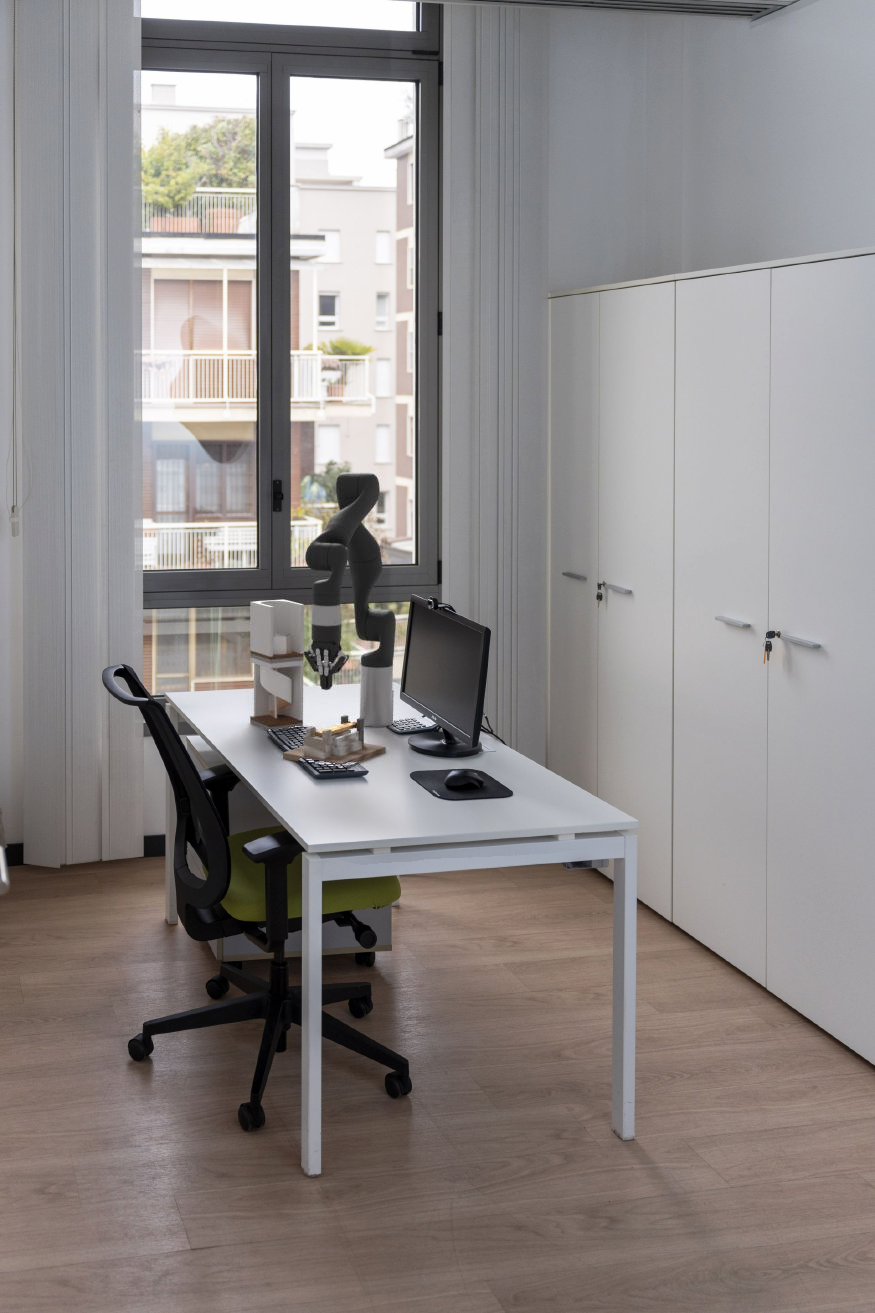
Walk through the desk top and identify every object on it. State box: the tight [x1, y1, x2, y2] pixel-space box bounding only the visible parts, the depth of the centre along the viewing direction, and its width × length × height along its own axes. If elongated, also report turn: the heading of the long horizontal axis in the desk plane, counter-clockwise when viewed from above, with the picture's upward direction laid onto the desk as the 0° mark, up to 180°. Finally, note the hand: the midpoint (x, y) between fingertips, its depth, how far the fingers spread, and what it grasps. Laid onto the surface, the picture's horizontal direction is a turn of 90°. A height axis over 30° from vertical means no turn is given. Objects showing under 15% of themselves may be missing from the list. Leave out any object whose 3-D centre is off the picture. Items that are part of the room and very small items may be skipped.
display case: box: [249, 599, 305, 731], centre depth 374 cm, size 11×11×35 cm
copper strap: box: [315, 720, 357, 737], centre depth 344 cm, size 16×3×2 cm, turn 150°
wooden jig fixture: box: [282, 714, 387, 764], centre depth 344 cm, size 21×18×9 cm
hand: (326, 689), depth 337 cm, fingers closed
